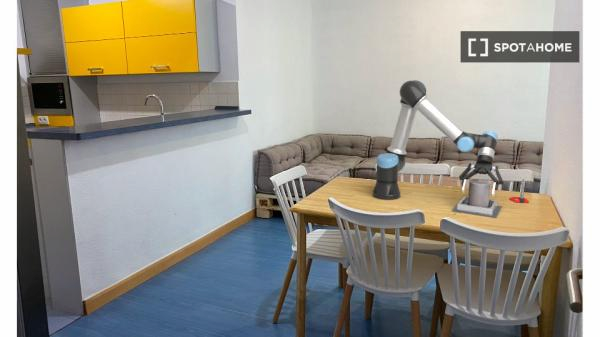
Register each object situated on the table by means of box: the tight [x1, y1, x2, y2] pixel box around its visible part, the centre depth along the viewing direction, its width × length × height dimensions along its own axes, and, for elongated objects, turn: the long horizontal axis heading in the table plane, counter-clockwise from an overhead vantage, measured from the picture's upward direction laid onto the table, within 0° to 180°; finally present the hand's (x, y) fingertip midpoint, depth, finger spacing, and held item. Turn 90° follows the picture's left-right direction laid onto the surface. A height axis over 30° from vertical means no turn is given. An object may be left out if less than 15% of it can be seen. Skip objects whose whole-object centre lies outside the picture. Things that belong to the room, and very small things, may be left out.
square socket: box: [451, 195, 503, 219], centre depth 203 cm, size 20×18×4 cm
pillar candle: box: [467, 178, 492, 208], centre depth 202 cm, size 10×10×15 cm
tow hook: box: [509, 178, 530, 204], centre depth 216 cm, size 8×13×9 cm
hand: (477, 193), depth 200 cm, fingers open, 13 cm apart
